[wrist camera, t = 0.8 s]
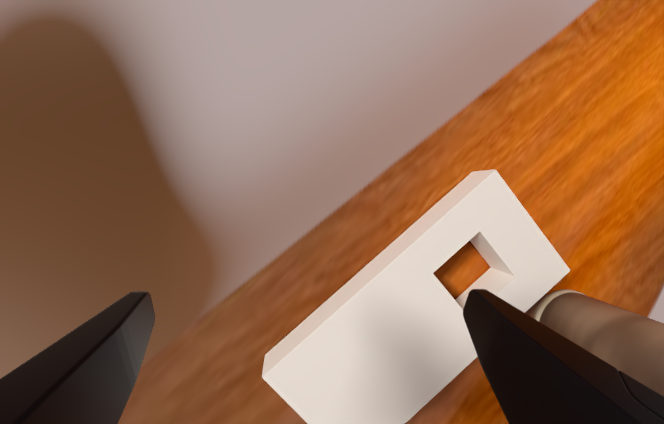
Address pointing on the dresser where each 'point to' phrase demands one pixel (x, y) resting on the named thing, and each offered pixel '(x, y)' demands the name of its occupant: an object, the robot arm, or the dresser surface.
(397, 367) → the board
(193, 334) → the dresser surface
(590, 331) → the peg
